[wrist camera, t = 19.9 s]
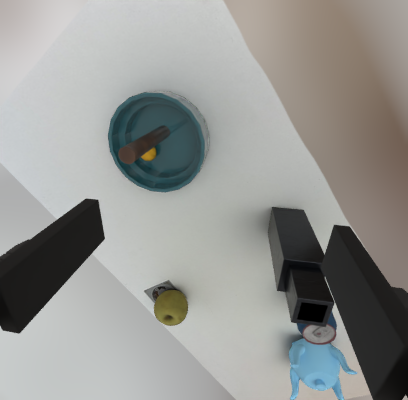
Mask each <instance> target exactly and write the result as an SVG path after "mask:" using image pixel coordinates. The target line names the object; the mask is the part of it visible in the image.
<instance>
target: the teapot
mask: <svg viewBox="0 0 408 400" xmlns="http://www.w3.org/2000/svg"><path fill="white" fill-rule="evenodd" d="M292 345H293V346H292V347H291V348H290V351H289V359H290V362H291V365H290V366H291V369H290V378H291V383H292V395H291V398H290V400H294V399H295V398H296V397H297V395H298V390H299V380H300V379H301V380H302V381H303V382H304V383H305V384H306V385H307V386H308V387H310V388H312V389H316V390H319V391H324V390H326V389H329V388H331V387H332V388H333V390H334V392H335V394H336V396H337V398H338V399H339V400H345V399H344V397H343V395H342V391H341V385H340V380H339V377H338V375H339V371H340V364H341V366H342V368H343V370H344V371H345V372H346V373H348V374H357V372H355V371H353V370H351V369H350V368H349V367H348V365H347V362H346V360H345V357H344V355H343V354H342V353H341V351H340V350H338V349H337V348H335V347H334V346H332V345H331V344H330V343H328V344H325V345H315V344H311V343H309V342H307V341H306V340H305V339H304V338H302V339H300V340H298V341H295V342H293V343H292Z"/></svg>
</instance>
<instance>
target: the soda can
mask: <svg viewBox="0 0 408 400" xmlns="http://www.w3.org/2000/svg"><path fill="white" fill-rule="evenodd" d="M297 326H298V330H299V331H300V333H301V334H302V335H303V337H304V339H305V340H306V341H307V342H309V343H311V344H315V345H325V344H328V343H330V342H332V341H333V340H334V339H335V337H336V327H337V324H336V321H335V319H334V316H333V313H332V311H331V314H330V317H329V320H328V322H327V325H326V327H322V326H315V325H308V324H300V323H297Z"/></svg>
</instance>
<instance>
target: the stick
mask: <svg viewBox="0 0 408 400" xmlns="http://www.w3.org/2000/svg"><path fill="white" fill-rule="evenodd" d="M169 134H170V130H169V128H168V127H166V126H160V127H158V128H157V129H155V130H153V131H151V132H149V133H147V134H146V135H144V136H142V137H140V138H138V139H137V140H135V141H133V142H131V143H129V144H127V145H126V146H124V147H122V148H121V149H120V150H119V158H120V160H121V161H122V162H124V163H126V164H132V163H133V162H135V161H136V160H137V159H139V158H140V157H141V156H143V155H144V154H145V153H147V152H148V151H149V150H151V149H152V148H154V147H155V146H156V145H158V144H159V143H160V142H162V141H163V140H164V139H166V138H167V137H168V136H169Z"/></svg>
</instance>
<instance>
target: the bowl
mask: <svg viewBox="0 0 408 400" xmlns="http://www.w3.org/2000/svg"><path fill="white" fill-rule="evenodd" d="M160 126H166V127H168V128H169V130H170V134H169V136H168V137H167V138H166V139H164V140H163V141H162V142H160V143H159V144H158V145H156V146H155V147H154V148H155V149H156V157H155V158H154V159H153V160H151V161H145V160H143V159H142V158H141V157H140V158H139V159H137V160H136V161H135V162H133V163H132V164H126V163H124V162H122V161H121V160H120V158H119V150H120V149H121V148H122V147H124V146H126V145H127V144H129V143H131V142H133V141H135V140H137V139H138V138H140V137H142V136H144V135H146V134H147V133H149V132H151V131H153V130H155V129H157V128H158V127H160ZM108 140H109V147H110V152H111V155H112V157H113V159H114V161H115V164H116V166H117V167H118V168H119V169H120V170H121V172H122V173H123V174H124V175H125V177H126V178H128V179H129V180H130V181H132V182H133V183H134V184H136V185H137V186H139V187H142V188H144V189H147V190H150V191H156V192H169V191H174V190H178V189H180V188H182V187H183V186H185V185H187V184H188V183H190V182H191V181H192V180H193V178H194V177H195V176H196V175H197V174H198V172H199V171H200V169H201V167H202V165H203V163H204V160H205V158H206V155H207V152H208V147H209V134H208V130H207V127H206V123H205V120H204V118H203V117H202V115H201V114H200V112H199V111H198V109H197V108H196V107H195V106H194V105H193V104H192V103H190V102H189V101H188V100H187V99H186V98H184V97H182V96H180V95H177V94H175V93H172V92H164V91H153V92H144V93H141V94H138V95H135V96H132V97H130V98H128V99H127V100H126V101H125V102H124V103H122V104H121V105H120V106H119V107H118V108H117V110H116V112H115V113H114V115H113V117H112V119H111V121H110V127H109V132H108Z"/></svg>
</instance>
